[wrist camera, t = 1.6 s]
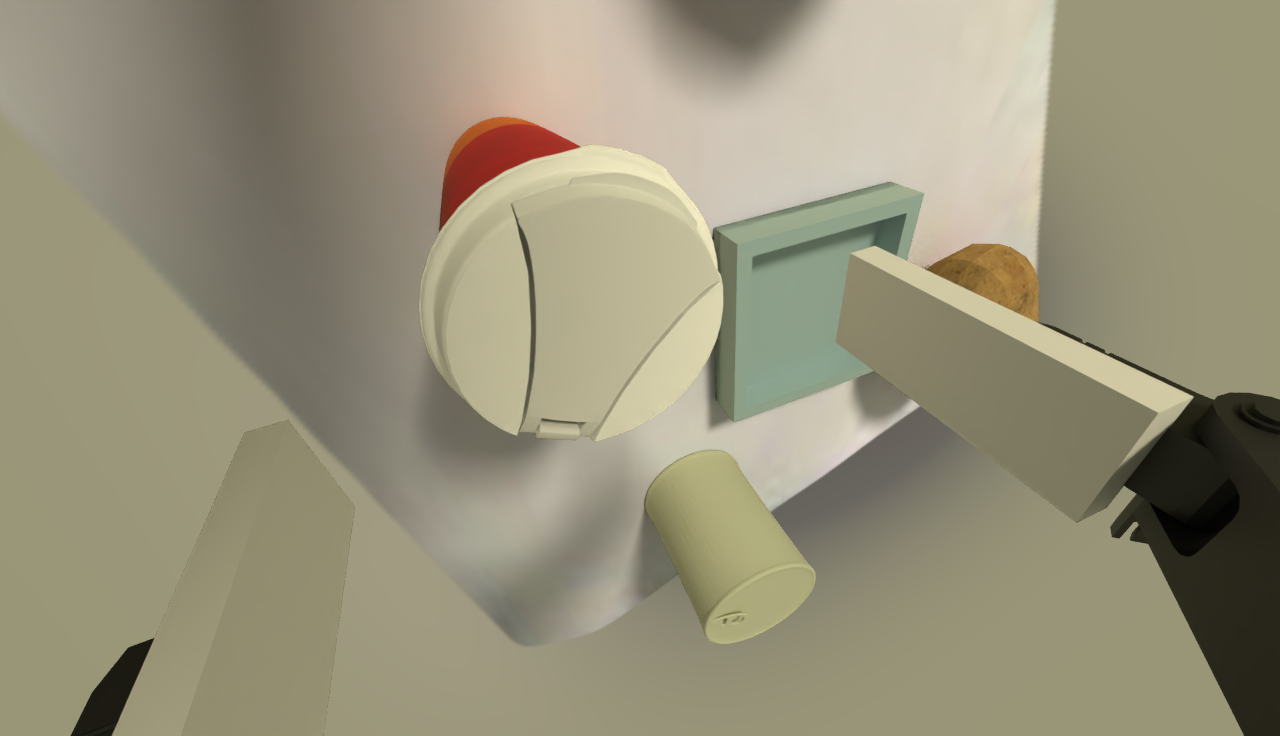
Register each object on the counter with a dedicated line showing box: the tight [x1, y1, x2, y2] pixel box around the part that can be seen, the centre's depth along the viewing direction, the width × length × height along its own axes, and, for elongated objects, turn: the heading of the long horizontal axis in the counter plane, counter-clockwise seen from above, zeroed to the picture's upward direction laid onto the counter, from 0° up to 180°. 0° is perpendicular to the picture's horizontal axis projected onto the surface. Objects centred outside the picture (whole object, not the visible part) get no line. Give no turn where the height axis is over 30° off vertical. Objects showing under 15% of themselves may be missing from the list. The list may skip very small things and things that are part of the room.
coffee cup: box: [419, 117, 723, 441], centre depth 18 cm, size 8×8×15 cm
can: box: [645, 450, 816, 644], centre depth 38 cm, size 9×9×12 cm
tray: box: [714, 182, 924, 422], centre depth 34 cm, size 14×13×3 cm
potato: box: [927, 244, 1039, 322], centre depth 37 cm, size 10×14×8 cm
